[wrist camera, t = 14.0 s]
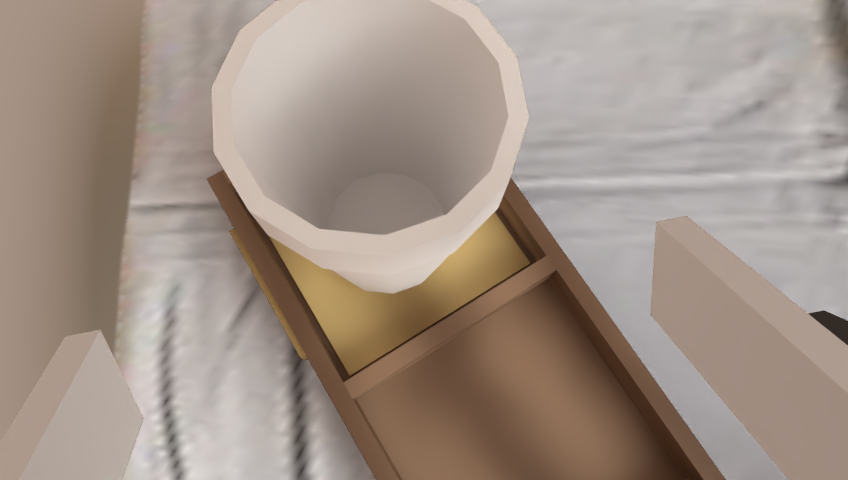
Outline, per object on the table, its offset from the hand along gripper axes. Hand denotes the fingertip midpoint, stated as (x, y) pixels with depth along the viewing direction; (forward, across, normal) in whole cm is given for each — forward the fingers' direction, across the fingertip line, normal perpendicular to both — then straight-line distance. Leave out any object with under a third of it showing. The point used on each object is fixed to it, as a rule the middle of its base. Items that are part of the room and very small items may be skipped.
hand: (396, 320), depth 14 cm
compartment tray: (+12, +2, -10) cm, 16 cm away
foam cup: (+15, 0, -6) cm, 16 cm away
